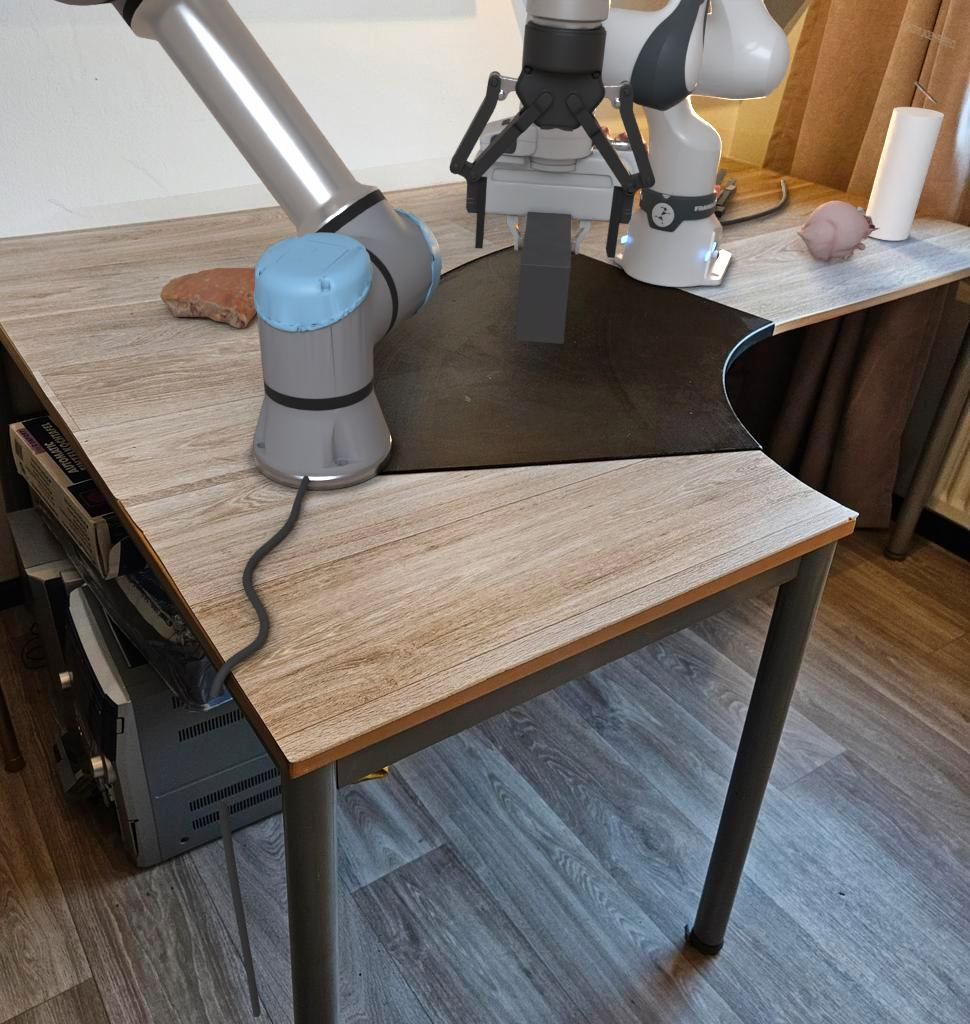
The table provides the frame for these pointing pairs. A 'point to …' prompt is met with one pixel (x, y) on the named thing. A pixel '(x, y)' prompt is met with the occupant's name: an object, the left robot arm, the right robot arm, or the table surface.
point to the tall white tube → (903, 167)
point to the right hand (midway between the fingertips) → (546, 251)
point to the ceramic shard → (213, 295)
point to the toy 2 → (836, 230)
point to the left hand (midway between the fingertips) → (544, 249)
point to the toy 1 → (724, 192)
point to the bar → (544, 278)
